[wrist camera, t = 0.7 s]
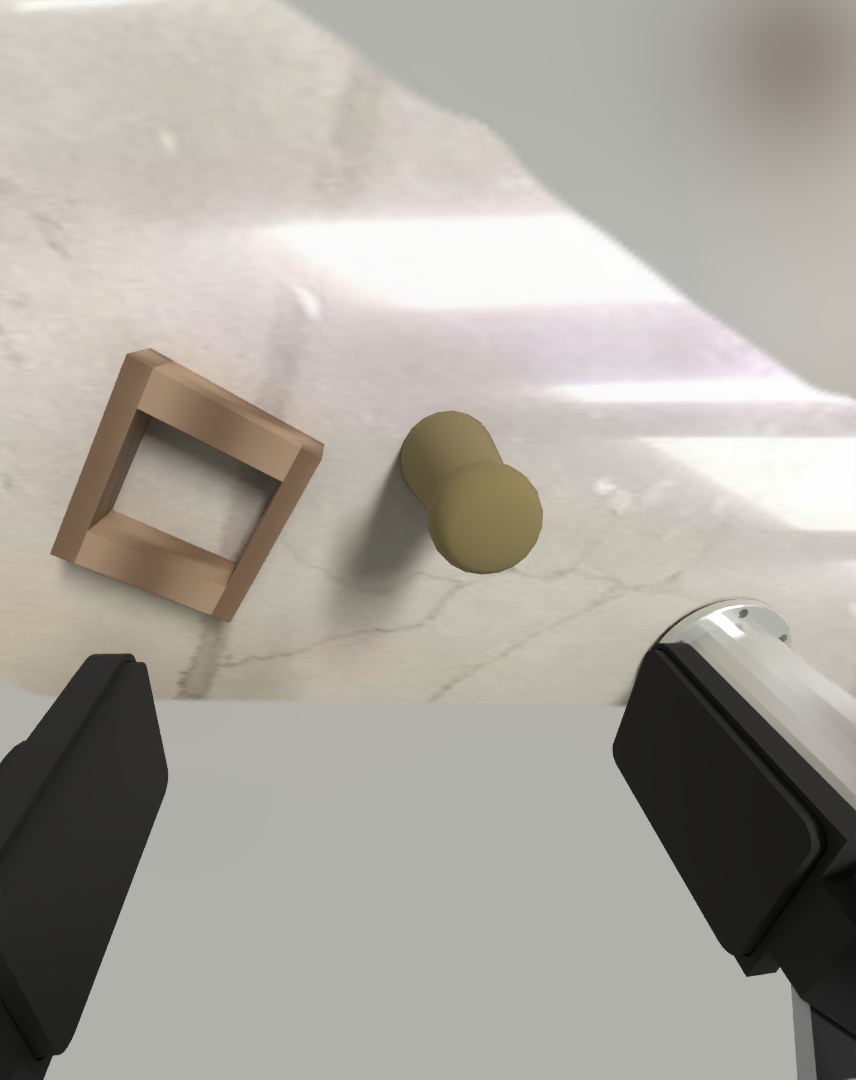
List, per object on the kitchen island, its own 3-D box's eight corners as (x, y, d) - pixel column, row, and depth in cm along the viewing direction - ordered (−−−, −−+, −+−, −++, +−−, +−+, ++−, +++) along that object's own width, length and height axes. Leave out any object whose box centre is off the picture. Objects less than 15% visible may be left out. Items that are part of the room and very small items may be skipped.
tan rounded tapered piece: (412, 514, 31) (440, 609, 22) (389, 424, 29) (409, 488, 19) (500, 491, 32) (568, 575, 22) (486, 399, 29) (556, 449, 19)
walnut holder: (324, 444, 29) (321, 459, 26) (239, 596, 32) (230, 622, 29) (150, 348, 25) (126, 353, 22) (77, 530, 29) (50, 554, 26)
